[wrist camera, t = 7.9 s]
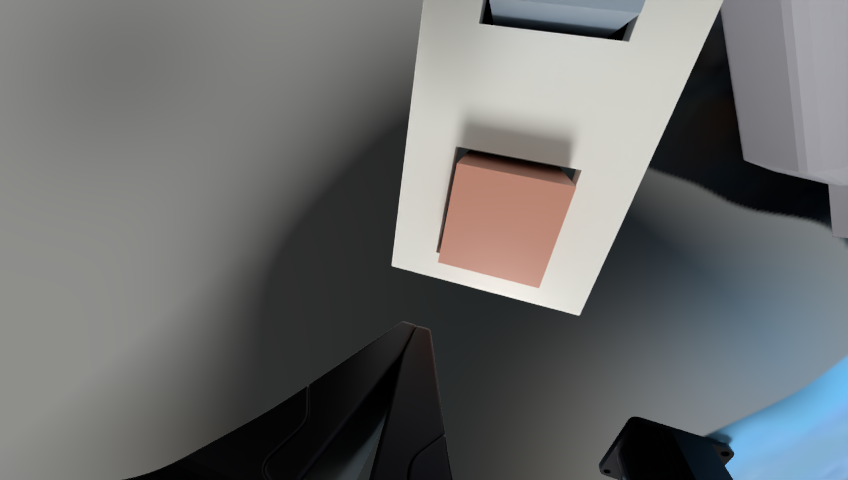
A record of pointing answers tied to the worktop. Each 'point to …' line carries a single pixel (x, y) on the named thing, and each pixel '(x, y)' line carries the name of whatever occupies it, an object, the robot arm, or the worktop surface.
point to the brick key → (505, 216)
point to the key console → (541, 127)
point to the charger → (793, 90)
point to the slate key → (566, 15)
